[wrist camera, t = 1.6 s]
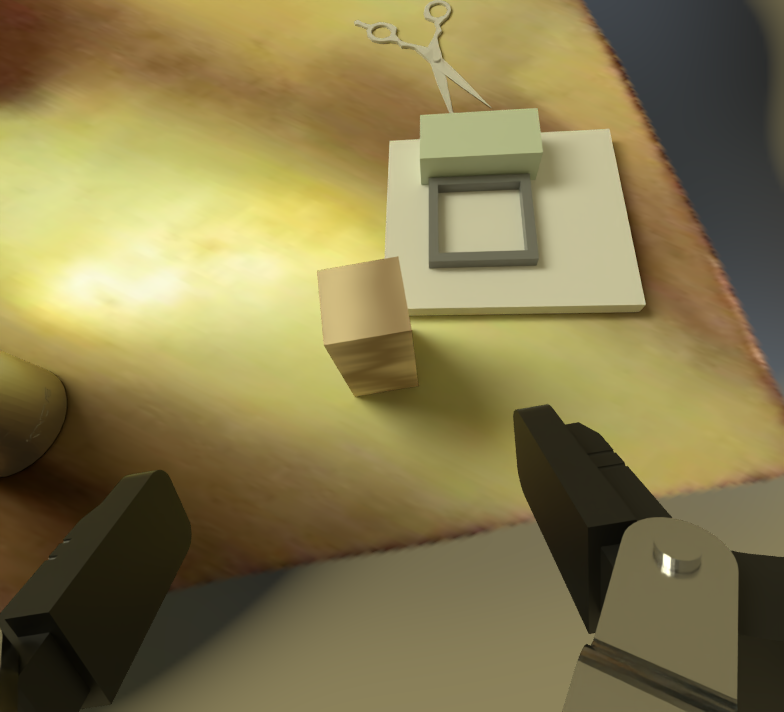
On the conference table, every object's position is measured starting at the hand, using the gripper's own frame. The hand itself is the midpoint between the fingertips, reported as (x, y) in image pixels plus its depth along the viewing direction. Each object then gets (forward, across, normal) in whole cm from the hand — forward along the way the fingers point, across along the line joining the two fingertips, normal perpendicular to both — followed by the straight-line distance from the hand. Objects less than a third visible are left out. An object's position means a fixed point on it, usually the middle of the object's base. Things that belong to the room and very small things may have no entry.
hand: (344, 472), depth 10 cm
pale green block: (+35, -11, -6) cm, 37 cm away
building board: (+32, -12, 0) cm, 34 cm away
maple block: (+24, 0, +7) cm, 25 cm away
